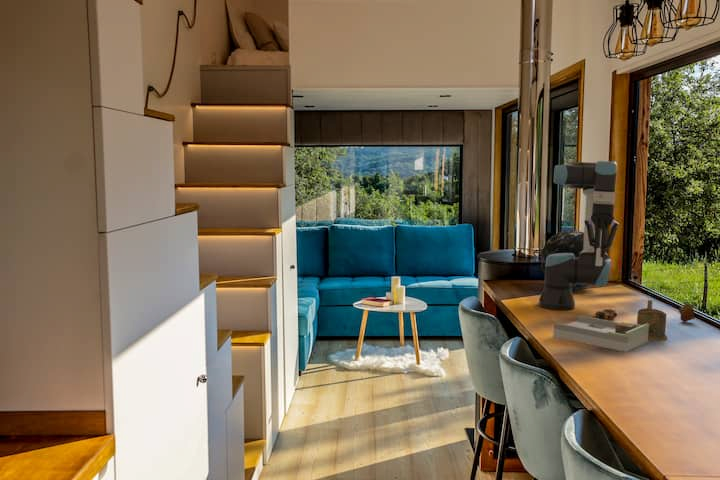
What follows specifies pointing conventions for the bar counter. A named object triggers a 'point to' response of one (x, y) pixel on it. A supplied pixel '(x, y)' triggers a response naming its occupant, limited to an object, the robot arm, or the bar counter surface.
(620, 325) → the block
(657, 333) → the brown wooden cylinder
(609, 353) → the bar counter surface
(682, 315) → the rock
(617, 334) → the grey rectangular tray
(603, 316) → the figurine
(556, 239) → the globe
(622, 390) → the bar counter surface
